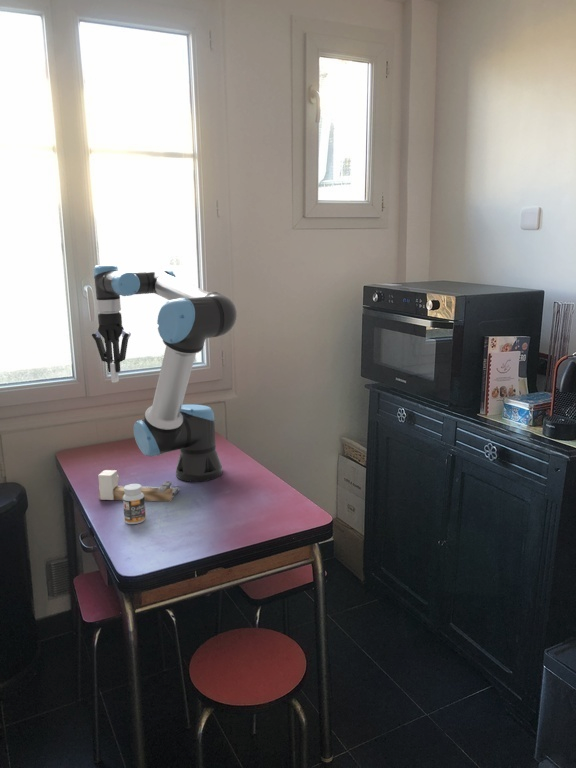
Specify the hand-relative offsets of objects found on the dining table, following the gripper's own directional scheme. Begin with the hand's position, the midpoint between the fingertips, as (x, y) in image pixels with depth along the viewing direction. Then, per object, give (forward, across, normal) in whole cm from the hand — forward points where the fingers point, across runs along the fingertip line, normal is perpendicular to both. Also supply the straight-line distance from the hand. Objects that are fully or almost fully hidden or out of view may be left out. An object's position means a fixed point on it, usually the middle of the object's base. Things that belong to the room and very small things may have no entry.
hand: (115, 381), depth 212 cm
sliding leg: (+29, -8, +28) cm, 41 cm away
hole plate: (+29, -16, +25) cm, 42 cm away
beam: (+29, -16, +30) cm, 45 cm away
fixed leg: (+28, -25, +28) cm, 47 cm away
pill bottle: (+30, -22, +45) cm, 58 cm away
